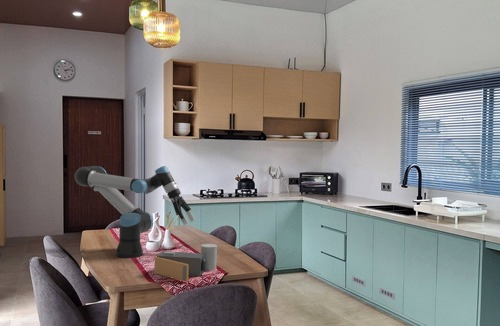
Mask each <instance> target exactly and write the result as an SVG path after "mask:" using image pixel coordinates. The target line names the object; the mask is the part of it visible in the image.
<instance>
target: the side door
mask: <svg viewBox="0 0 500 326" xmlns="http://www.w3.org/2000/svg"><path fill="white" fill-rule="evenodd" d="M188 269H189V264H185V263H180V262H176V261H172V260H167V259H163V258H159V257H157V256H154V274H157V275H159V276H164V277H167V278H171V279H175V280H179V281H181V282H182V281H183V282H186V283H187V282H188V283H189V276H188Z"/></svg>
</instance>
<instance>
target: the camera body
mask: <svg viewBox="0 0 500 326" xmlns="http://www.w3.org/2000/svg"><path fill="white" fill-rule="evenodd" d="M156 257H159V258H163V259H167V260H172V261H176V262H180V263H185V264H189V269H188V277H201V276H202V275H203V273H204V272H206V271H207V270H206V265H207V261H206V259H205V254H202V253H201V252H200V253H199V252H198V253H197V252H184V251H183V252H181V251H165V250H164V251H161V252H160V253H158V254H157V255H156Z"/></svg>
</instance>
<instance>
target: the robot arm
mask: <svg viewBox="0 0 500 326" xmlns="http://www.w3.org/2000/svg"><path fill="white" fill-rule="evenodd" d="M154 172H155V174H154V175H152V176H151V177H149V178H143V179H142V178H141V179H140V178H139V179H138V178H135V177H128V176H121V175H114V174H109V173H107V171H106V170H105V169H104V168H103V167H102V166H99V165H98V166H97V165H91V166H81V167H79V168H78V169H77V170H76V171H75V173H74V181H75V182H76V184H78V186H82V187H90V189H92V190H93V191H94V192H98V193H100V194H101V195H102V196H103V197H104V199H106V200H107V202H109V203H110V204H111V205H112V206H113V208H115V209H116V210H117V211H118V212H119V213H120V214H121V215H120V217H119V232H118V233H119V235H118V236H119V237H118V238H119V240H118V241H119V242H118V245H117V248H116V249H115V256H116V257H118V258H124V259H126V258H127V259H131V258H133V259H134V258H140V257H143V256H144V250H143V246H142V243H141V234H143V233H146V232H148V231H149V230H151V229H152V227H153V225H154V219H153V216H152V214H151V213H149V212H147V211H143V209H141V208H140V207H137V206H135V205H134V204H132V202H131V201H130V200H128V198H127V197H125V196H124V195H123V193H121V191H120V190H123V191H128V192H130V191H131V192H134V193H135V194H143V193H144V194H146V195H148V194H150V193H153V192H155V190H157V189H158V188H160V187H161V186H162V188H163V189H164V191H165V193H166V194H167V198H168V199H170V201H171V203H172V206H173V209H174V211H175V215H176V216H178V217H179V218H180V221H181V223H182V224H183V225H184V226H186V224H188V223H189V222H188V220H189V221H190V223H192V222H194V221H196V219H195V217H194V215H193V213H192V211H191V210H192V209H191V207H190V206H189V204H188V203H187V202H186V201H185V200H184V197H183V196H180V195H181V194H182V193H181V190H180V189H179V188H178V185H177V182H176V181H175V179H174V178H173V176H172V174H171V171H170V170H169V168H168V166H166V165H163V166H160V167H158V168H157V169H155V171H154ZM183 210H184V212H185V214H186V215H187V218H188V219H187V218H186V216H185V214H184V212H182V211H183Z"/></svg>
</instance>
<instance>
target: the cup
mask: <svg viewBox="0 0 500 326" xmlns="http://www.w3.org/2000/svg"><path fill="white" fill-rule="evenodd" d="M217 251H218V245H217V244H215V243H203V244H201V246H200V253H202V254H205V259H206V261H207V265H206V270H205V271H215V270H216V269H217V256H218V252H217Z"/></svg>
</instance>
